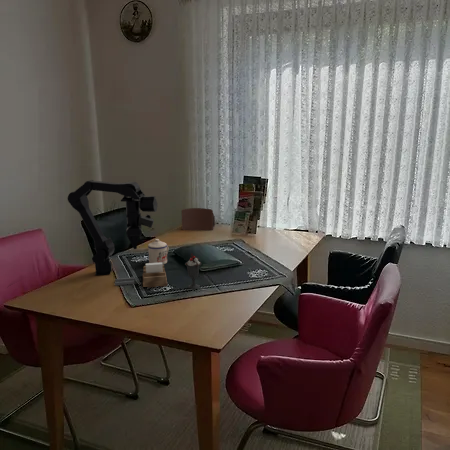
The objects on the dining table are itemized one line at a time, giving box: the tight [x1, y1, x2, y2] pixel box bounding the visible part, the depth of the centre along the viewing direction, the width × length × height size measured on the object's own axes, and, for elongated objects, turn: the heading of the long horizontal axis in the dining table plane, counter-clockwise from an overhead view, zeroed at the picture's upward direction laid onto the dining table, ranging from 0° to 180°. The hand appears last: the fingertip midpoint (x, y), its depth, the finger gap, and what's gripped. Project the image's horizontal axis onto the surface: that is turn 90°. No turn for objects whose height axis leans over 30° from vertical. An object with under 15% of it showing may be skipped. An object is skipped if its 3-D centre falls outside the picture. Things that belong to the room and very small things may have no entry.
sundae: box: [184, 254, 202, 290], centre depth 173 cm, size 7×7×15 cm
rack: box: [142, 264, 169, 288], centre depth 182 cm, size 10×15×4 cm, turn 11°
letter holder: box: [181, 207, 216, 231], centre depth 270 cm, size 10×20×14 cm, turn 84°
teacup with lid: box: [147, 238, 169, 265], centre depth 206 cm, size 12×9×12 cm
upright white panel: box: [145, 262, 164, 273], centre depth 182 cm, size 7×2×6 cm, turn 101°
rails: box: [114, 277, 136, 286], centre depth 180 cm, size 8×5×1 cm, turn 101°
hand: (135, 246), depth 188 cm, fingers open, 9 cm apart
